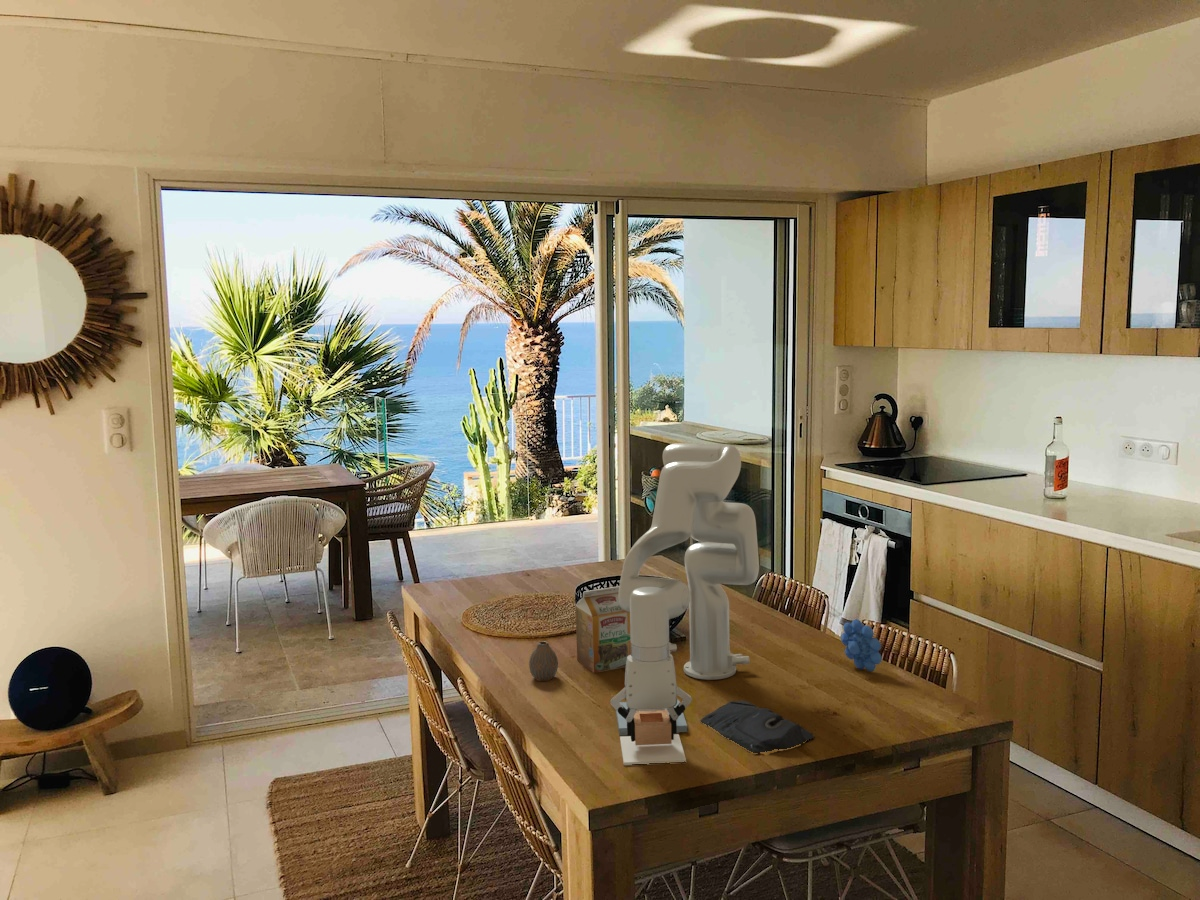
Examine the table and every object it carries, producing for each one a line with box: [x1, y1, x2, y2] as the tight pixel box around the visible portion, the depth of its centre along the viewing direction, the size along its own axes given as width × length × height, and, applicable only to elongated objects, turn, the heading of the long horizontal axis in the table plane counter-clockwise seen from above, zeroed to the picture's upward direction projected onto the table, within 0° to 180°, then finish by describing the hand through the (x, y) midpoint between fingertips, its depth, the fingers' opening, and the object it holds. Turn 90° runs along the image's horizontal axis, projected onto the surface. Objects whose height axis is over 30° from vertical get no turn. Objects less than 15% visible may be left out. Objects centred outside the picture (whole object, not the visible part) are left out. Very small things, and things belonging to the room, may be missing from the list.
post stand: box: [615, 699, 688, 736], centre depth 211 cm, size 14×14×12 cm
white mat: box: [619, 733, 687, 766], centre depth 196 cm, size 12×12×1 cm
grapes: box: [840, 618, 883, 672], centre depth 237 cm, size 12×7×12 cm, turn 37°
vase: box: [528, 640, 559, 682], centre depth 238 cm, size 7×7×9 cm
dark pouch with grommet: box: [700, 700, 815, 753], centre depth 204 cm, size 15×22×5 cm
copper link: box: [633, 710, 672, 745], centre depth 196 cm, size 7×7×4 cm
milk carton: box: [575, 585, 631, 674], centre depth 246 cm, size 11×11×19 cm
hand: (651, 737), depth 196 cm, fingers closed on copper link, 7 cm apart
